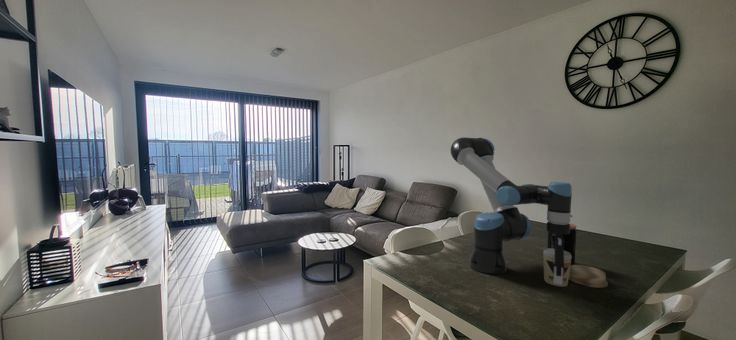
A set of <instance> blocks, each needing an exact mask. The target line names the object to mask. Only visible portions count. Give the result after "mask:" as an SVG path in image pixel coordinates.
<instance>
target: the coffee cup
mask: <svg viewBox="0 0 736 340" xmlns="http://www.w3.org/2000/svg"><path fill="white" fill-rule="evenodd" d="M542 254H543V258H542V259H543V260H542V261H543V278H544V279H543V280H544V281H545V283H547V284H548V285H550V286H551V285H552V286H555V287H561V288H562V287H563V288H564V287H567V286H568V285H569V272H570V264H571V258H572V256H571V254H570V253H569V252H567V251H564V268H563V281H562V285H560V284H555V283H553V281H554V266H553V264H555V250H554V249H553V248H545V249H544V250H543V251H542ZM558 264H561V263H558Z"/></svg>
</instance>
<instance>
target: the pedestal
mask: <svg viewBox="0 0 736 340" xmlns="http://www.w3.org/2000/svg"><path fill="white" fill-rule="evenodd" d="M606 275H607V273H606V272H605V271H603V270H601V269H600V268H596V267H592V266H589V265H583V264H574V265H571V266H570V272H569V279H568V281H569V280H570V281H571V282H573V283H575V284H578V285H581V286H583V287H589V288H595V289H596V288H597V289H599V288H600V289H603V288H607V287H608V285H609V282H608V281H607V280H606V279H607V276H606Z"/></svg>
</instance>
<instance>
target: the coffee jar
mask: <svg viewBox="0 0 736 340" xmlns="http://www.w3.org/2000/svg"><path fill="white" fill-rule="evenodd" d="M568 224H570V233H569V234H567V235H565V234H564V235H562V237H563V238H564V241H565V242H564V251H567V252H569V253H570V254H571V256H572V258H571V264H570V266H571V265H576V264H575V263H576V244H577V231H576V229H577V225H576V224H573V223H571V222H570V223H568ZM551 236H552V233H550V232H548V231H547V244H546V245H547V248H551V245H552V243H551V241H552V240H551ZM547 248H546V249H547Z"/></svg>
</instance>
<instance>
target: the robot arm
mask: <svg viewBox="0 0 736 340" xmlns="http://www.w3.org/2000/svg"><path fill="white" fill-rule="evenodd" d="M450 155H451V157H452V158H453V160H454V161H455V162H456V163H457V164H458V165H460V166H464V167H465V168H466V169H467V170H468V171H469V172H470V173H472V174H473V175H475V177H476V178H478V179H479V180H480V182H481V184H482V187H483V189H484V192H485V194H486V196H487V199H488V202H489V203H490V206H491V208H492V210H493V212H490V211H489V212H482V213H479V214H477V215H476V216H475V217H474V218H475V219H474V224H473V226H474V236H473V239H474V240H473V250H472V252H471V255H470V257H469V260H468V261H469V263H468V264H469V265H468V266H469V267H470V268H471V269H472V270H474V271H477V272H480V273H483V274H488V275H489V274H491V275H501V274H504V273H506V272H507V270H508V269H507V267H508V266H507V265H508V264H507V261H506V258H505V254H504V252H503V251H504V249H503V248H504V243H509V242H514V241H515V242H516V241H517V242H518V241H520V240H524V239H526V238H527V237H528V236H529V235H530V234H531V229H532V223H531V221H530V219H529V217H528V216H527V215H525V214H523V213H521V212H520V210H519V208H518V207H517V206H519V205H531V204H539V205H544V206H547V211H546V212H547V213H546V221H547V222H546V231H547V233H548V232H550V233H552V236H551V240H552V241H551V243H552V245H551V248H553V249H554V250H555V264H553V266H554V281H553V283H555V284H560V285H562V281H563V268H564V242H565V241H564V238H563V237H562V235H564V234H565V235H567V234H569V233H570V224H571V218H573V215H572V214H571V213H572V212H571V209H572V196H573V193H572V192H573V191H572V189H573V188H572V184H571V183H570V182H565V181H564V182H562V181H549V183H548V184H547V185H546V186H545V185H540V184H539V185H537V184H533V183H531V184H530V183H528V184H527V183H525V184H522V185H517V184H516V183H514V182H513V181H511V180H510V179H508V177H506V176H505V175H503V174H502V173H501V172H500V171H499V170H497V169H496V167H495V165H494V155H495V145H494V144H493V142H492V141H491V140H489V139H488V138H483V137H466V136H465V137H459V138H457V139H455V140H454V141H453V143H452V144H451V147H450ZM568 223H570V224H568ZM558 263H561V264H558Z"/></svg>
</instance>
